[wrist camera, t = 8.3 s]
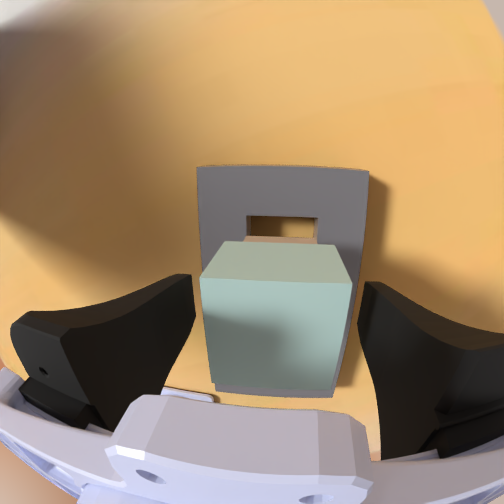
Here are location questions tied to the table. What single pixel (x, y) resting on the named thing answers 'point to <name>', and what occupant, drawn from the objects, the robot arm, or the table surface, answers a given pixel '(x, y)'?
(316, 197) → the grey peg board
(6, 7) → the table surface
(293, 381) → the plug
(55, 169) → the table surface
